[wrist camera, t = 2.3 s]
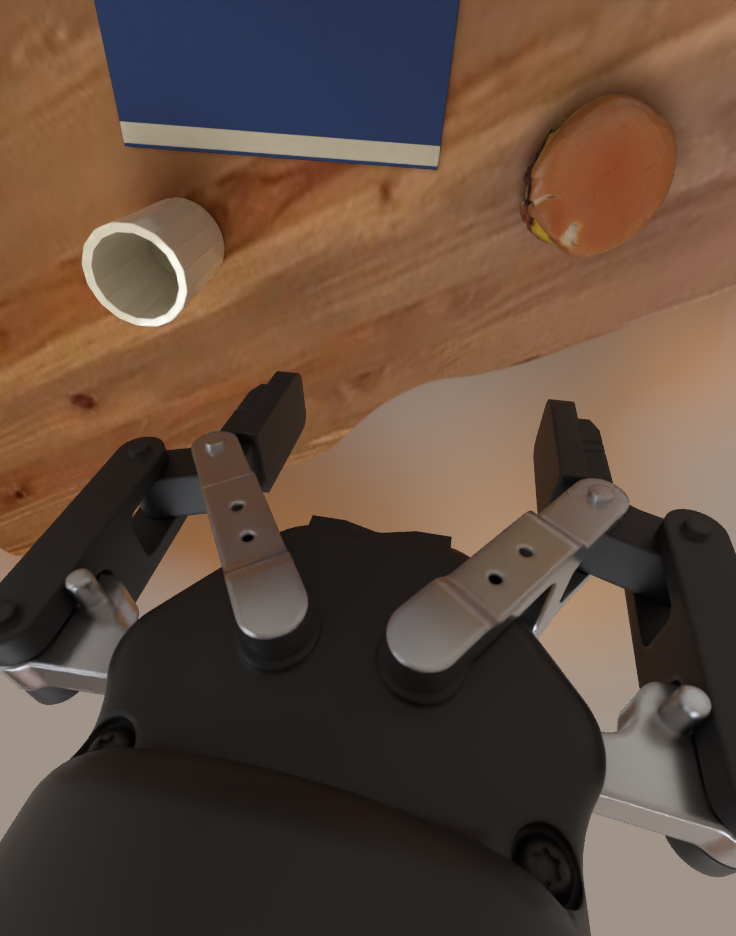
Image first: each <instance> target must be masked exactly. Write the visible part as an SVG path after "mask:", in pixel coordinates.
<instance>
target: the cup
mask: <svg viewBox="0 0 736 936" xmlns="http://www.w3.org/2000/svg"><path fill="white" fill-rule="evenodd" d="M224 251H225V250H224V241H223V237H222V233H221V231H220V229H219V227H218V225H217V223H216V222H215V220H214V219H213V217H212V216H211V215H210V214H209V213H208V212H207V211H206V210H205V209H204V208H202V207H201V206H200V205H198V204H196V203H195V202H193V201H190V200H188V199H184V198H178V197H172V198H166V199H163V200H161V201H158V202H156V203H154V204H151V205H149V206H147V207H144V208H142V209H140V210H138V211H135V212H133V213H131V214H128V215H126V216H124V217H121V218H119V219H117V220H114V221H112V222H110V223H107V224H105V225H103V226H101V227H98V228H96V229H95V230H94V231H93V232H92V233H91V235H90V236H89V238H88V239H87V240H86V242H85V243H84V248H83V257H82V267H83V270H84V274H85V277H86V281H87V284H88V286H89V287H90V289H91V290H92V292H93V293H94V295H95V296H96V297H97V299H98V300H99V302H100V303H101V304H102V305H103V306H104V307H106V308H107V309H108V310H109V311H111V312H112V313H113V314H114V315H115V316H117V317H118V318H120V319H123V320H125V321H127V322H130V323H132V324H135V325H138V326H152V327H156V326H160V325H163V324H165V323H168V322H171V321H172V320H174V319H175V318H176V316H177V315H178V314H179V313H180V312H181V311H182V310H183V309H184V308H185V307H186V306H187V304H188V303H189V302H190V301H191V300H192V299H193V298H194V297H195V296H196V295H197V294H198V292H199V291H200V290H201V289H202V288H203V287H204V286H205V285H206V284H207V283H208V282H209V280H210V279H211V278H212V277H213V276H214V275H215V274H216V273H217V271H218V270H219V269H220V267H221V265H222V262H223V259H224Z"/></svg>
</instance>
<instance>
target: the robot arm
mask: <svg viewBox="0 0 736 936" xmlns="http://www.w3.org/2000/svg"><path fill="white" fill-rule="evenodd" d="M305 420H306V410H305V402H304V394H303V386H302V379H301V376H300V374H299V373H292V372H282V371H277V372H276V373H275V374H274V376H273V377H272V378H271V380H270V381H269V383H268V384H261V385H259V386H258V387H256V388H254V389H253V390H251V391H250V392H249V393H248V395H247V396H246V397H245V399H244V400H243V402H241V404H240V405H239V406H238V409H236V410H235V412H234V413H233V414H232V416H231V417H230V418H229V420H228V421H227V422H226V424H225V425H224V426H223V428H222V429H221V430H220V431H214V432H210V433H207V434H204V435H202V436H200V437H199V438H198V439H196V440H195V441H194V443H193V444H192V446H191V448H186V449H175V450H166V448H165V445H164V443H163V441H161V440H160V439H158V438H155V437H141V438H137V439H134V440H131V441H129V442H127V443H125V444H124V445H122V446H121V447H120V448H119V449H118V450H117V451H116V452H115V453H114V454H113V456H112V457H111V458H110V459H109V460H108V461H107V462H106V464H105V465H104V466H103V467H102V468H101V469H100V470H99V471H98V473H97V474H96V475H95V476H94V477H93V478H92V479H91V481H90V482H89V483H88V484H87V485H86V486H85V487H84V488H83V490H82V491H81V492H80V493H79V494H78V495H77V496H76V498H75V499H74V500H73V501H72V502H71V503H70V504H69V505H68V507H67V508H66V509H65V510H64V511H63V512H62V513H61V515H60V516H59V517H58V518H57V519H56V520H55V521H54V522H53V524H52V525H51V526H50V527H49V528H48V529H47V530H46V532H45V533H44V534H43V535H42V536H41V537H40V538H39V539H38V541H37V542H36V543H35V544H34V545H33V546H32V547H31V549H30V550H29V551H28V552H27V553H26V554H25V555H24V556H23V558H22V559H21V560H20V561H19V562H18V563H17V564H16V566H15V567H14V568H13V569H12V570H11V571H10V572H9V573H8V575H7V576H6V577H5V578H4V579H3V581H1V583H0V673H1V674H2V675H4V676H5V677H6V678H7V679H8V680H10V681H11V682H12V683H13V684H15V685H16V686H17V687H18V688H19V689H22V690H25V691H26V692H27V693H28V694H30V695H31V696H32V697H33V698H34V699H35V700H37V701H38V702H39V703H42V704H46V705H53V704H58V703H61V702H64V701H66V700H68V699H69V698H71V697H73V696H74V695H75V694H77V693H78V692H79V691H83V692H89V693H95V694H102V695H105V697H104V701H103V705H102V708H101V712H100V714H99V717H98V720H97V722H96V725H95V727H94V729H93V731H92V733H91V735H90V736H89V738H88V739H87V741H86V742H85V743H84V744H83V746H82V747H81V748H80V749H79V750H78V752H77V753H76V754H75V755H74V756H73V757H72V758H71V759H70V760H69V761H67V762H65V763H63V764H62V765H60V766H59V767H58V768H56V769H55V770H53V771H52V772H51V773H50V774H49V775H48V776H47V777H46V778H44V779H43V780H42V781H41V782H40V783H39V785H38V786H37V787H36V788H35V789H34V791H33V792H32V793H31V795H30V797H29V798H28V800H27V801H26V803H25V804H24V806H23V807H22V809H21V811H20V812H19V814H18V815H17V817H16V818H15V820H14V821H13V823H12V824H11V826H10V828H9V829H8V831H7V832H6V834H5V835H4V837H3V839H2V840H1V842H0V936H591V934H590V926H589V918H588V910H587V903H586V896H585V889H584V881H583V850H584V842H585V835H586V831H587V827H588V824H589V820H590V817H591V814H592V813H595V814H599V815H602V816H605V817H608V818H612V819H615V820H618V821H621V822H624V823H628V824H631V825H634V826H638V827H641V828H644V829H647V830H650V831H654V832H657V833H660V834H663V835H665V836H666V839H667V841H668V842H669V844H670V845H671V847H672V848H673V849H674V851H675V852H676V853H677V854H678V855H679V857H681V859H683V860H684V861H685V862H686V863H687V864H688V865H690V866H691V867H692V868H694V869H695V870H697V871H699V872H701V873H703V874H705V875H709V876H714V877H724V876H727V875H730V874H733V873H735V872H736V553H735V551H734V548H733V546H732V543H731V541H730V538H729V535H728V533H727V532H726V530H725V529H724V528H723V527H722V526H721V525H720V524H719V523H718V522H717V521H715V520H714V519H712V518H710V517H709V516H707V515H705V514H702V513H700V512H697V511H693V510H687V509H677V510H673V511H671V512H669V513H668V514H667V515H666V516H665V518H664V519H663V518H660V517H658V516H655V515H652V514H649V513H646V512H644V511H641V510H639V509H636V508H635V507H632V506H631V505H629V499H628V497H627V495H626V494H625V492H624V491H623V490H622V489H620V488H619V487H618V486H616V485H614V484H613V481H612V478H611V474H610V470H609V466H608V462H607V458H606V454H604V452H605V450H604V447H603V444H602V439H601V435H600V431H599V430H598V429H597V427H596V426H595V425H594V424H593V423H592V422H591V421H590V420H587V419H578V417H577V412H576V407H575V403H574V402H571V401H561V400H551V399H549V400H548V401H547V403H546V406H545V409H544V413H543V416H542V420H541V423H540V427H539V430H538V434H537V437H536V441H535V446H534V471H535V485H536V498H537V511H538V515H537V514H536V513H534V512H533V511H528V512H526V513H525V514H523V515H522V516H521V517H520V518H518V519H517V520H516V521H515V522H513V523H512V524H511V525H510V526H509V527H508V528H506V529H505V530H504V531H503V532H501V533H500V534H499V535H497V536H496V537H495V538H494V539H493V540H491V541H490V542H489V543H488V544H486V545H485V546H484V547H483V548H481V549H480V550H479V551H478V552H477V553H475V554H474V555H473V556H472V557H469V556H467V555H465V554H464V553H462V552H460V551H458V550H456V549H453V548H451V538H452V537H449V536H443V535H437V534H430V533H423V532H417V531H412V532H392V533H378V532H375V531H372V530H369V529H367V528H364V527H361V526H359V525H356V524H354V523H351V522H348V521H346V520H340V519H334V518H327V517H320V516H314V515H313V516H312V519H311V521H310V523H309V525H306V526H299V527H294V528H290V529H287V530H284V531H281V532H279V530H278V527H277V525H276V523H275V520H274V518H273V516H272V513H271V511H270V508H269V506H268V504H267V501H266V499H265V497H264V494H263V492H270V490H271V488H272V486H273V484H274V483H275V481H276V479H277V477H278V475H279V473H280V471H281V470H282V468H283V466H284V464H285V462H286V460H287V458H288V457H289V455H290V453H291V451H292V449H293V447H294V445H295V444H296V442H297V440H298V438H299V436H300V434H301V432H302V430H303V428H304V425H305ZM138 505H140V508H139V509H138V510H137V512H136V513H135V514H134V516H133V517H132V515H133V513H134V511H135V509H136V508H137V507H138ZM205 513H207V514H208V518H209V521H210V525H211V528H212V532H213V536H214V539H215V543H216V547H217V550H218V554H219V557H220V561H221V564H222V567H221V568H219V569H218V570H216V571H214V572H213V573H211V574H209V575H208V576H206V577H204V578H203V579H201V580H200V581H198V582H196V583H195V584H193V585H191V586H190V587H188V588H187V589H185V590H183V591H182V592H180V593H178V594H177V595H175V596H174V597H172V598H170V599H169V600H167V601H165V602H164V603H162V604H161V605H159V606H157V607H156V608H154V609H152V610H151V611H149V612H148V613H146V614H145V615H143V616H142V617H141V618H140V619H138V616H139V610H138V607H137V605H136V601H137V599H138V598H139V596H140V594H141V593H142V591H143V589H144V588H145V586H146V584H147V583H148V581H149V579H150V578H151V576H152V574H153V573H154V571H155V569H156V568H157V566H158V564H159V563H160V561H161V560H162V558H163V556H164V555H165V553H166V551H167V549H168V548H169V546H170V544H171V543H172V541H173V540H174V538H175V536H176V535H177V533H178V531H179V530H180V528H181V526H182V525H183V523H184V521H185V519H186V518H187V516H188V515H196V514H205ZM592 576H595V577H598V578H600V579H602V580H605V581H607V582H610V583H612V584H614V585H617V586H619V587H621V588H624V589H625V596H626V602H627V609H628V615H629V622H630V628H631V635H632V641H633V648H634V655H635V661H636V668H637V675H638V681H639V687H640V690H639V691H638V692H637V694H636V695H635V696H634V697H633V698H632V699H631V700H630V702H629V703H628V704H627V705H626V706H625V707H624V708H623V710H622V711H621V712H620V714H619V718H618V725H617V732H613V733H605V732H601V731H600V728H599V726H598V723H597V721H596V719H595V717H594V715H593V713H592V712H591V710H590V708H589V707H588V705H587V704H586V703H585V701H584V700H583V698H582V697H581V696H580V694H579V693H578V692H577V690H576V689H575V688H574V686H573V685H572V684H571V683H570V681H569V680H568V679H567V677H566V676H565V675H564V673H563V672H562V671H561V669H560V668H559V667H558V665H557V664H556V663H555V661H554V660H553V659H552V657H551V656H550V655H549V654H548V652H547V651H546V650H545V648H544V647H543V646H542V644H541V643H540V642H539V640H538V638H539V636H540V635H541V634H542V633H543V632H544V630H545V629H546V628H547V626H548V625H549V623H550V622H551V620H552V619H553V617H554V616H555V615H556V614H557V613H558V611H559V610H560V609H561V608H562V607H563V606H564V605H565V604H566V603H567V602H568V601H569V600H570V599H571V598H572V597H573V596H574V595H575V594H576V593H577V592H578V590H580V588H581V587H582V586H583V585H584V584H585V583H586V582H587V581H588V580H589V579H590V578H591V577H592Z"/></svg>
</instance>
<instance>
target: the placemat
mask: <svg viewBox="0 0 736 936" xmlns="http://www.w3.org/2000/svg"><path fill="white" fill-rule="evenodd" d="M94 1H95V6H96V11H97V15H98V20H99V25H100V30H101V34H102V39H103V44H104V49H105V53H106V58H107V63H108V67H109V72H110V77H111V82H112V86H113V91H114V96H115V101H116V105H117V110H118V115H119V120H120V125H121V130H122V135H123V140H124V143H125V146H129V147H143V148H156V149H169V150H182V151H195V152H209V153H222V154H235V155H248V156H262V157H275V158H288V159H301V160H315V161H328V162H341V163H354V164H368V165H381V166H394V167H407V168H421V169H434V170H437V168H438V161H439V154H440V146H441V138H442V130H443V123H444V115H445V107H446V100H447V92H448V84H449V77H450V69H451V62H452V54H453V46H454V39H455V31H456V23H457V16H458V8H459V0H94Z"/></svg>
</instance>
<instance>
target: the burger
mask: <svg viewBox="0 0 736 936" xmlns="http://www.w3.org/2000/svg"><path fill="white" fill-rule="evenodd" d="M676 158H677V151H676V143H675V138H674V133H673V129H672V127H671V125H670V124H669V122H668V120H667V119H666V118H665V117H664V116H663V115H661V114H660V113H659V112H657V111H656V110H655V109H654V108H653V107H652V106H650V105H649V104H648V103H646V102H644V101H643V100H641V99H639V98H635V97H632V96H628V95H625V94H622V93H612V94H608V95H605V96H601V97H598V98H596V99H594V100H592V101H591V102H589V103H587V104H585V105H584V106H583V107H582V108H580V109H578V110H576V111H574V113H573V115H572V116H571V117H569V118H567V119H565V120H564V121H562V122H561V123H559V124H558V125H556V126H555V127H554V128H553V129H551V130H550V132H549V134H548V135H547V137H546V139H545V141H544V143H543V145H542V147H541V148H540V150H539V152H538V153H536V155H535V160H534V161H533V163H532V164H531V165H530V166H529V167H528V170H527V172H526V173H525V176H524V182H525V184H527V188H526V193H525V202H524V201H522V204H521V206H520V214H521V217H522V220H523V221H525V223H526V226H527V229H528V230H529V231H530V232H531V233H533V234H534V235H535V236H536V237H537V239H540V240H542V241H545V242H546V243H548V244H550V245H552V246H555V247H557V248H559V249H560V250H562V251H564V252H565V253H567V254H569V255H573V256H576V257H587V256H591V255H595V254H599V253H603V252H605V251H608V250H610V249H612V248H615V247H617V246H619V245H621V244H622V243H624V242H625V241H627V240H629V239H630V238H631V237H632V236H634V235H635V234H636V233H637V232H638V231H639V230H640V229H641V228H642V227H643V226H644V225H645V224H646V223H647V222H648V221H649V220H650V219H651V217H652V216H653V215H654V214H655V213H656V211H657V210H658V209H659V208H660V206H661V204H662V202H663V200H664V199H665V197H666V195H667V193H668V191H669V188H670V185H671V182H672V179H673V176H674V170H675V164H676Z"/></svg>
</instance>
